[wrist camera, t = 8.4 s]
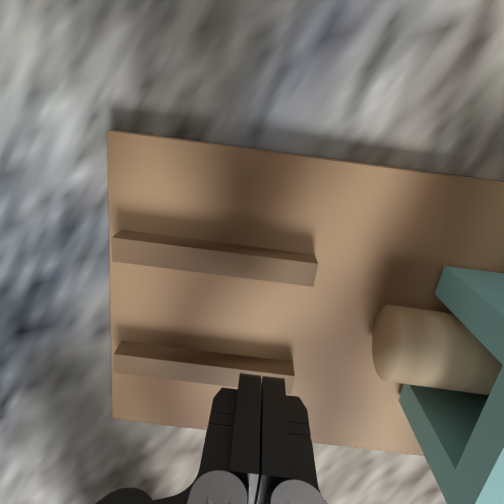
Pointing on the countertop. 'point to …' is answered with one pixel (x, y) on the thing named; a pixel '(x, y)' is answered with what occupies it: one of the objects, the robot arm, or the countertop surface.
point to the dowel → (431, 351)
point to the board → (277, 277)
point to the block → (465, 399)
